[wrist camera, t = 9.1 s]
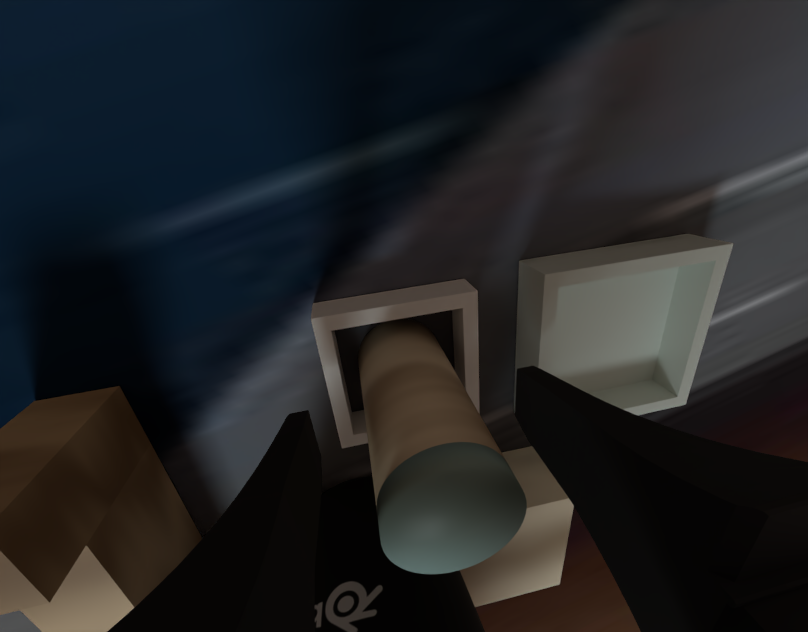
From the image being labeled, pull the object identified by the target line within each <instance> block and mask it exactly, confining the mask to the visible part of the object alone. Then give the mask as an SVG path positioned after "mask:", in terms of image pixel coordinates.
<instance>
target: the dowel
mask: <svg viewBox="0 0 808 632" xmlns="http://www.w3.org/2000/svg"><path fill="white" fill-rule="evenodd" d="M358 365H359V373H360V381H361V389H362V397H363V405H364V413H365V421H366V429H367V437H368V445H369V453H370V461H371V469H372V477H373V485H374V493H375V501H376V509H377V516H378V524H379V532H380V540H381V546H382V549H383V551H384V553H385V555H386V556H387V557H388V559H389V560H390V561H391V562H393V563H394V564H395V565H397V566H398V567H400V568H402V569H405V570H407V571H410V572H414V573H420V574H443V573H450V572H454V571H459V570H462V569H465V568H468V567H471V566H473V565H476V564H478V563H480V562H482V561H484V560H486V559H487V558H489V557H491V556H492V555H494V554H495V553H497V552H498V551H499V550H501V549H502V548H503V547H504V546H505V545H506V544H507V543H508V542H509V541H510V540H511V539H512V538H513V537H514V536H515V534H516V533H517V532H518V530H519V529H520V527H521V525H522V523H523V521H524V518H525V515H526V509H527V501H526V496H525V493H524V491H523V489H522V487H521V486H520V484H519V482H518V480H517V479H516V477H515V475H514V473H513V472H512V470H511V468H510V466H509V465H508V463H507V461H506V459H505V458H504V456H503V454H502V452H501V451H500V449H499V447H498V445H497V444H496V442H495V440H494V439H493V437H492V435H491V433H490V432H489V430H488V428H487V426H486V425H485V423H484V421H483V419H482V418H481V416H480V414H479V412H478V411H477V409H476V407H475V405H474V404H473V402H472V400H471V398H470V397H469V395H468V393H467V391H466V390H465V388H464V386H463V384H462V383H461V381H460V379H459V378H458V376H457V374H456V372H455V371H454V369H453V367H452V365H451V364H450V362H449V360H448V358H447V357H446V355H445V353H444V351H443V350H442V348H441V346H440V344H439V343H438V341H437V339H436V337H435V336H434V334H433V333H432V331H431V330H430V329H429V328H428V327H426V326H425V325H424V324H422V323H420V322H418V321H415V320H411V319H397V320H391V321H386V322H383V323H381V324H379V325H378V326H376V327H375V328H373V329H372V330H371V331H370V332H369V333H368V334H367V335H366V336H365V338H364V339H363V341H362V343H361V345H360V348H359V351H358Z"/></svg>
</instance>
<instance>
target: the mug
mask: <svg viewBox="0 0 808 632" xmlns="http://www.w3.org/2000/svg"><path fill="white" fill-rule="evenodd" d="M315 632H485V631H484V629H483V626H482V624H481V621H480V619H479V616H478V614H477V611H476V609H475V606H474V604H473V601H472V599H471V596H470V594H469V591H468V589H467V586H466V584H465V582H464V579H463V577H462V575H461V572H460V570H459V571H454V572H450V573H443V574H420V573H414V572H410V571H407V570H405V569H402V568H400V567H398V566H397V565H395V564H394V563H393V562H391V561H390V560H389V559H388V557H387V556H386V555H385V553H384V551H383V549H382V546H381V540H380V532H379V524H378V516H377V509H376V501H375V493H374V485H373V477H366V478H359V479H354V480H350V481H347V482H344V483H342V484H339V485H337V486H335V487H333V488H331V489H330V490H328V491H327V492H325V493H324V494H323V495H321V504H320V516H319V527H318V538H317V549H316V560H315Z"/></svg>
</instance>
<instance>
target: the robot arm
mask: <svg viewBox="0 0 808 632" xmlns="http://www.w3.org/2000/svg"><path fill="white" fill-rule="evenodd" d="M515 416H516V418H517V420H518V422H519V424H520V426H521V428H522V430H523V431H524V433H525V435H526V437H527V439H528V441H529V442H530V443H531V445H532V446H533V448H534V449H535V451H536V452H537V454H538V455H539V457H540V458H541V459H542V461H543V462H544V464H545V465H546V466H547V468H548V469H549V471H550V472H551V474H552V475H553V476H554V478H555V479H556V481H557V482H558V483H559V485H560V486H561V488H562V489H563V490H564V492H565V493H566V495H567V496H568V498H569V499H570V501H571V502H572V504H573V505H574V507H575V508H576V510H577V512H578V513H579V515H580V517H581V519H582V520H583V522H584V524H585V526H586V527H587V529H588V531H589V533H590V534H591V536H592V538H593V540H594V541H595V543H596V545H597V547H598V549H599V551H600V553H601V554H602V556H603V558H604V560H605V562H606V564H607V565H608V567H609V569H610V571H611V573H612V575H613V577H614V579H615V581H616V583H617V584H618V586H619V588H620V590H621V592H622V594H623V596H624V598H625V600H626V602H627V604H628V606H629V608H630V610H631V612H632V614H633V616H634V618H635V620H636V622H637V624H638V626H639V628H640V630H641V632H808V462H804V461H799V460H794V459H789V458H784V457H779V456H774V455H769V454H764V453H759V452H755V451H751V450H747V449H743V448H739V447H735V446H731V445H727V444H723V443H719V442H716V441H712V440H708V439H705V438H701V437H698V436H695V435H692V434H689V433H685V432H682V431H679V430H676V429H673V428H670V427H667V426H664V425H661V424H659V423H656V422H653V421H651V420H648V419H645V418H643V417H640V416H637V415H635V414H632V413H630V412H628V411H625V410H623V409H621V408H619V407H616V406H614V405H612V404H610V403H607V402H605V401H603V400H601V399H599V398H597V397H595V396H593V395H591V394H589V393H586V392H584V391H583V390H581V389H579V388H577V387H575V386H573V385H571V384H569V383H567V382H565V381H563V380H561V379H559V378H557V377H555V376H554V375H552V374H550V373H548V372H546V371H544V370H542V369H540V368H538V367H535V366H528V367H523V368H518V369H517V376H516V400H515ZM321 492H322V468H321V454H320V451H319V447H318V443H317V440H316V436H315V432H314V429H313V425H312V422H311V418H310V414H309V411H308V410H307V411H302V412H297V413H292V414H289V415H288V416H287V418H286V419H285V421H284V423H283V425H282V427H281V428H280V430H279V432H278V434H277V435H276V437H275V439H274V441H273V442H272V444H271V446H270V447H269V449H268V451H267V452H266V454H265V455H264V457H263V459H262V460H261V462H260V463H259V465H258V467H257V468H256V470H255V471H254V473H253V474H252V476H251V477H250V478H249V480H248V481H247V483H246V484H245V486H244V487H243V488H242V490H241V491H240V493H239V494H238V496H237V497H236V498H235V500H234V501H233V502H232V504H231V505H230V506H229V507H228V509H227V510H226V511H225V513H224V514H223V515H222V516H221V517H220V519H219V520H218V521H217V522H216V524H215V525H214V526H213V527H212V528H211V530H210V531H209V532H208V533H207V534H206V535H205V536H204V538H203V539H202V540H201V541H200V542H199V543H198V544H197V545H196V546H195V547H194V549H193V550H192V551H191V552H190V553H189V554H188V555H187V556H186V557H185V558H184V559H183V561H182V562H181V563H180V564H179V565H178V566H177V567H176V568H175V569H174V570H173V571H172V572H171V573H170V574H169V575H168V576H167V577H166V578H165V579H164V580H163V581H162V582H161V583H160V584H159V585H158V586H157V587H156V588H155V589H154V590H152V591H151V592H150V593H149V594H148V595H147V596H146V597H145V598H144V599H143V600H142V601H141V602H140V603H139V604H138V605H137V606H136V607H134V608H133V609H132V610H131V611H130V612H129V613H128V614H127V615H126V616H124V617H123V618H122V619H121V620H120V621H119V622H118V623H117V624H115V625H114V626H113V627H112V628H111V629H110V630H109V631H107V632H315V560H316V549H317V538H318V527H319V516H320V504H321Z"/></svg>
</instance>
